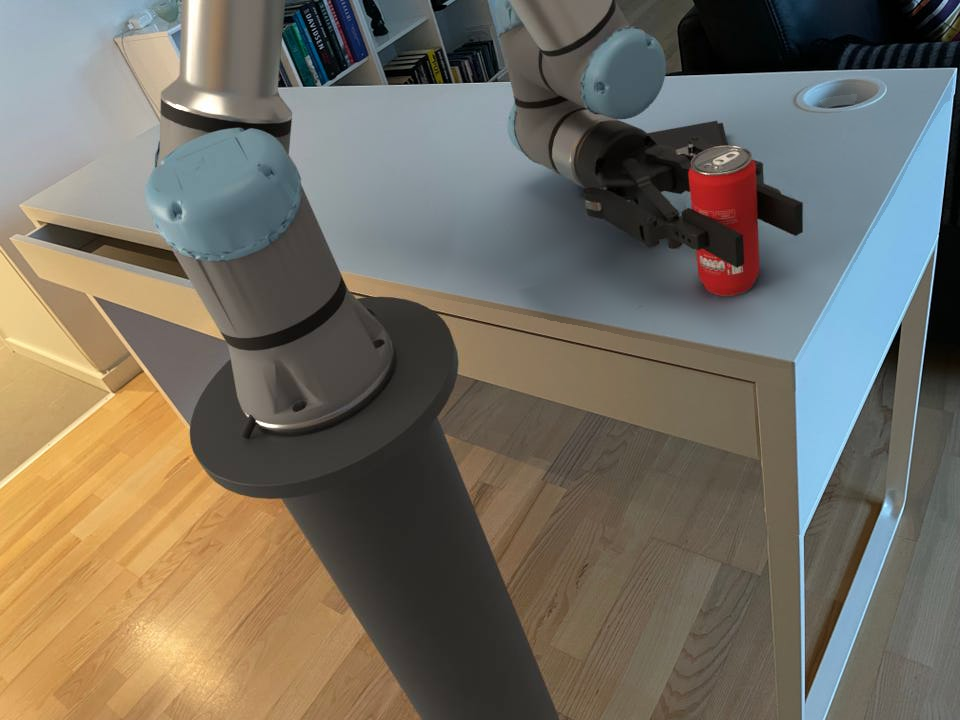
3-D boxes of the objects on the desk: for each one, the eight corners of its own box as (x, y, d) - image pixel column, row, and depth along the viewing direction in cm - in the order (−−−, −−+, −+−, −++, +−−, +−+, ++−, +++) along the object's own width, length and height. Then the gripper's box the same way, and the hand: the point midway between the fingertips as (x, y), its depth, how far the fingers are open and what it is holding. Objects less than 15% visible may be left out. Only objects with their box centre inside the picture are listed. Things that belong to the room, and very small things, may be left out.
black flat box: (723, 138, 90) (722, 118, 88) (730, 170, 84) (729, 148, 82) (587, 162, 94) (584, 143, 92) (585, 193, 88) (581, 174, 86)
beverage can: (687, 282, 70) (674, 163, 63) (732, 258, 71) (724, 138, 64) (726, 306, 66) (716, 182, 59) (773, 280, 67) (769, 154, 60)
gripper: (681, 154, 82) (856, 227, 64) (536, 225, 79) (680, 324, 61) (674, 86, 78) (860, 145, 60) (520, 159, 74) (670, 244, 56)
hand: (769, 235), depth 60 cm, fingers closed on beverage can, 5 cm apart
